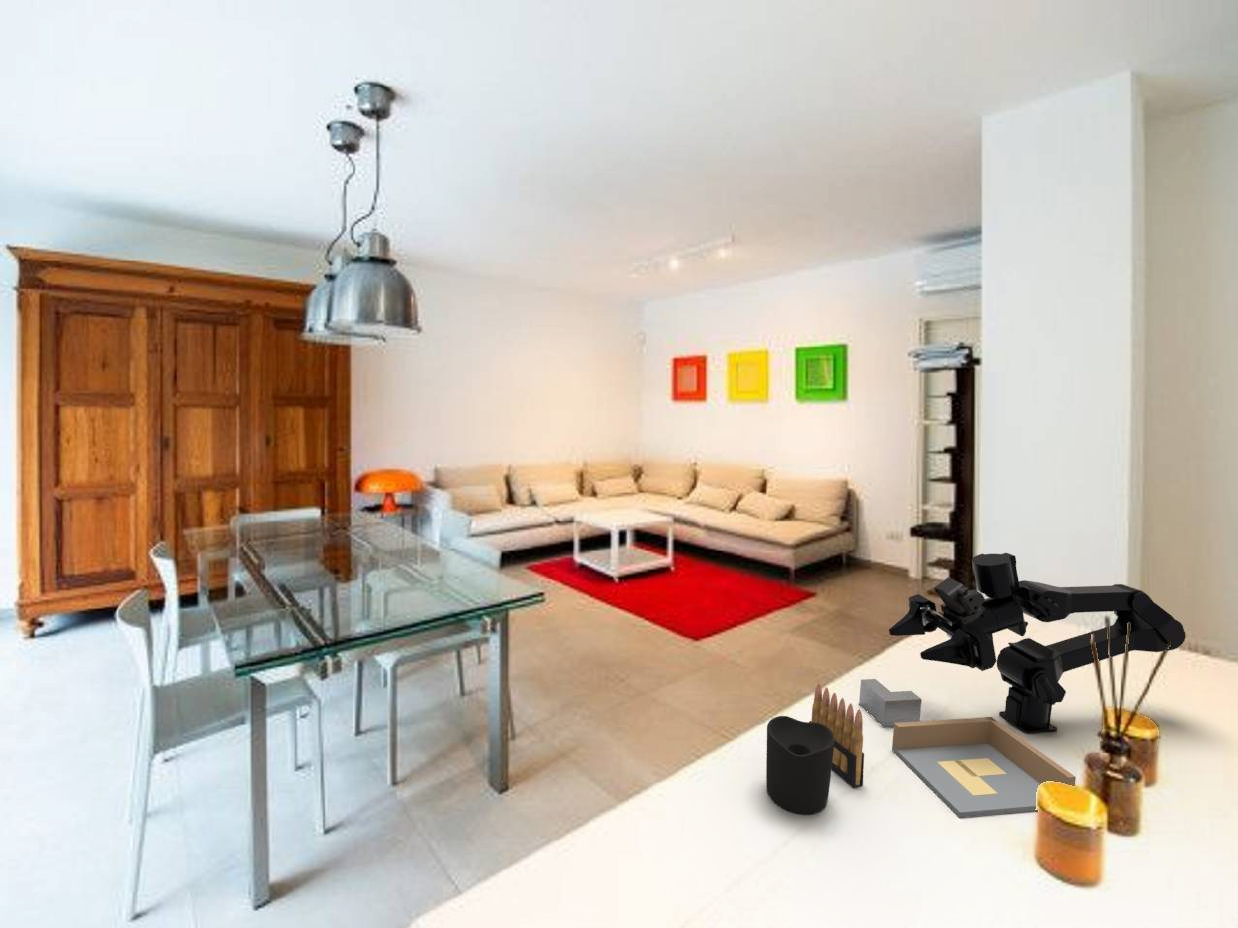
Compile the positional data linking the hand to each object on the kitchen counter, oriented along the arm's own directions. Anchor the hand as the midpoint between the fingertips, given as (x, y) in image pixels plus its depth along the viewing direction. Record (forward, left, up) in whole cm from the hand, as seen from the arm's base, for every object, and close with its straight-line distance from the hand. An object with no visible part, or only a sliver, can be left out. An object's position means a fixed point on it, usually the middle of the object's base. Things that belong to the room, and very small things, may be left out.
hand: (904, 643), depth 103 cm
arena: (-4, +14, -16) cm, 21 cm away
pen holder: (+26, +15, -16) cm, 34 cm away
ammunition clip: (+17, +9, -16) cm, 25 cm away
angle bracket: (-1, -5, -16) cm, 17 cm away
